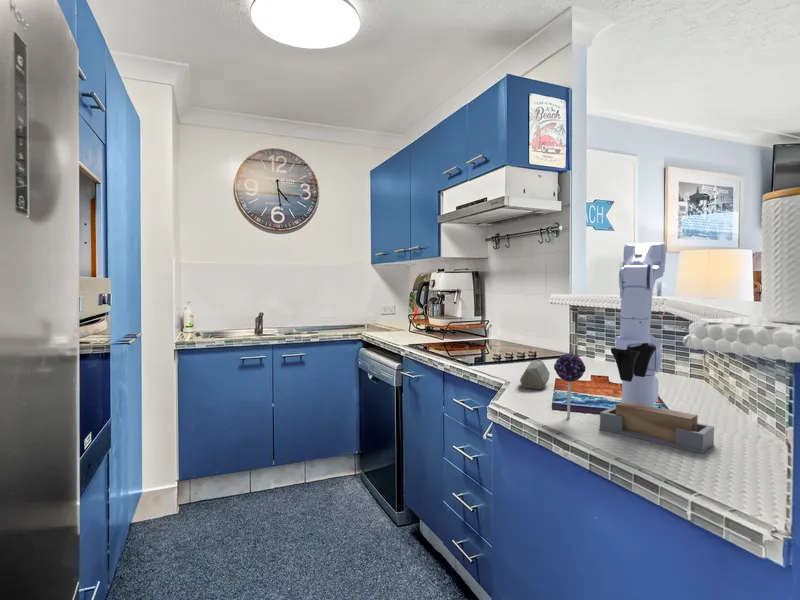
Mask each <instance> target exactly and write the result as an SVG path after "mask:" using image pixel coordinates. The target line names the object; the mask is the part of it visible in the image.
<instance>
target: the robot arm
mask: <svg viewBox="0 0 800 600" xmlns="http://www.w3.org/2000/svg"><path fill="white" fill-rule="evenodd" d="M666 256H667V245H666V243H665V242H664V241H661V242H641V243H639V242H638V243H637V242H636V243H629V242H628V243H627V242H626V244H624V246H623V264H624V265H623V267H619V272H618V287H619V298H621V299H620V321H619V323H620V326H619V327H620V329H619V333H620V334H619V335H617V336H616V335H615V336H614V341H615V347H611V348H610V353H611V354H612V356H613V357H614V360H615V364H616V367H617V370H618V374H619V378H620V381H622V382H621V383H622V384H621V402H623V401H625V402H631V403H636V404H641V405H647V406H653V405H654V403H656V402H658V403H659V383H660V382H659V379H658V376H656V374H659V372H661V369H662V344H661V342H660V340H659V339H657V338H656V337H654V335H652V334H651V323H652V322H651V321H652V309H653V308H652V305H653V291H654V286H655V284H656V281H657V280H658V279H661V278H662V277H663V276H664V273H665V270H666V269H665V268H666V260H667V259H666Z"/></svg>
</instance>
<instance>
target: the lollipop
mask: <svg viewBox="0 0 800 600" xmlns="http://www.w3.org/2000/svg"><path fill="white" fill-rule="evenodd" d="M586 368H587V367H586V365H585V364H584V361H583V359H582V358H580V356H578V355H577V354H574V353H564V354H562V355H560V356H559V357H558V358H557V359H556V361H555V363H554V365H553V369H554V371H555V373H556V375H557V376H558V378H559V379H561V380H562V381H564V382H567V398H566V399H567V402H566V403H567V404H566V405H567V407H566V409H567V410H566V412H567V413H566V418H567V419H570V418H571V389H572V382H575V381H578V380H579V379H580V380H581V378H582V377H583V375H584V373H585V372H586Z"/></svg>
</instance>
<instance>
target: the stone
mask: <svg viewBox="0 0 800 600" xmlns="http://www.w3.org/2000/svg"><path fill="white" fill-rule="evenodd" d="M524 370H525V371H524V372H523V374H522V375H521V377H520V379H519V381H520V382H519V383H520V384H521V386H522V387H523V388H525V389H530V390H532V389H533V390H542V389H544V387H545V386H546V384H547V383H548V382H549V380H550V371H549V369H548V368H547V366H546V364H545V362H544V361H542V360H541V359H539V358H538V359H534V360H532V361H530V363H528V366H527V367H526V369H524Z"/></svg>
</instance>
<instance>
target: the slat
mask: <svg viewBox="0 0 800 600" xmlns="http://www.w3.org/2000/svg"><path fill="white" fill-rule="evenodd" d="M615 405H616V406H615V407H616V415H620V416H623V429H624V430H628V431H632V432H637V433H641V434H645V435H649V436H654V437H658V438H662V439H667V440H671V441H675V438H676V428H681V429H686V430H690V431H695V432H697V423H698V415H697V414H694V413H689V412H683V411H678V410H673V409H668V408H667V409H666V408H662V407H660V408H657V407H652V406H647V405H641V404H636V403H631V402H625V401H623V402H622V401H621V402H620V401H619V402H618V403H615Z"/></svg>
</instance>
